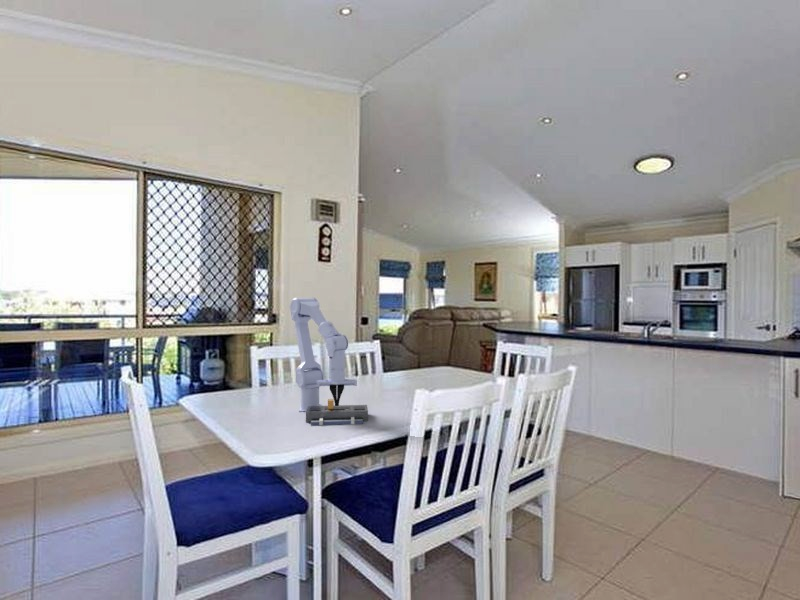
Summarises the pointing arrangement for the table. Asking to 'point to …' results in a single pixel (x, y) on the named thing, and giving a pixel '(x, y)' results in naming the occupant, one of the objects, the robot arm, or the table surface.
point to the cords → (336, 421)
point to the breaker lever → (330, 403)
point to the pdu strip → (337, 412)
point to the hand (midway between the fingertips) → (336, 405)
